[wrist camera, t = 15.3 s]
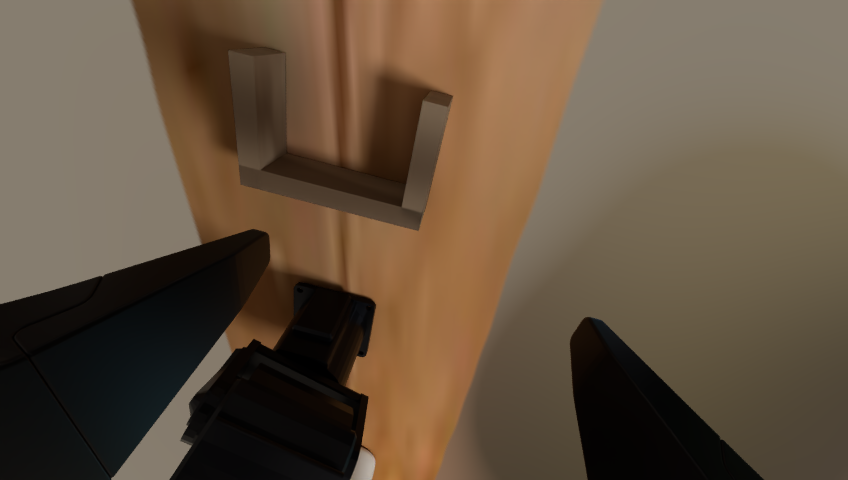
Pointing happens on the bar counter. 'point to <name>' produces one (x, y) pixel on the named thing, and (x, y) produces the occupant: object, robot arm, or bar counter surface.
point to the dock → (315, 181)
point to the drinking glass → (364, 466)
